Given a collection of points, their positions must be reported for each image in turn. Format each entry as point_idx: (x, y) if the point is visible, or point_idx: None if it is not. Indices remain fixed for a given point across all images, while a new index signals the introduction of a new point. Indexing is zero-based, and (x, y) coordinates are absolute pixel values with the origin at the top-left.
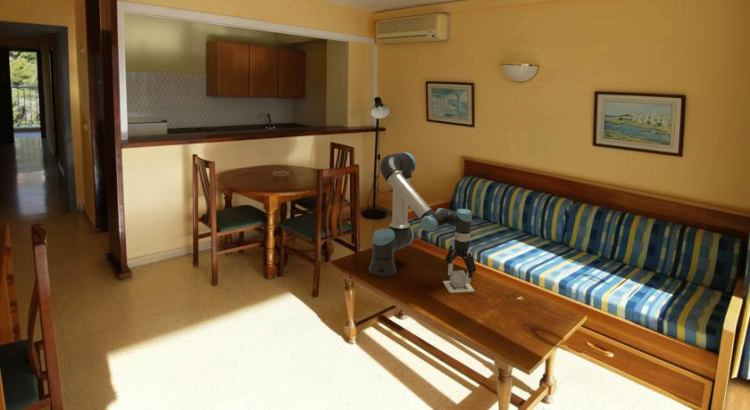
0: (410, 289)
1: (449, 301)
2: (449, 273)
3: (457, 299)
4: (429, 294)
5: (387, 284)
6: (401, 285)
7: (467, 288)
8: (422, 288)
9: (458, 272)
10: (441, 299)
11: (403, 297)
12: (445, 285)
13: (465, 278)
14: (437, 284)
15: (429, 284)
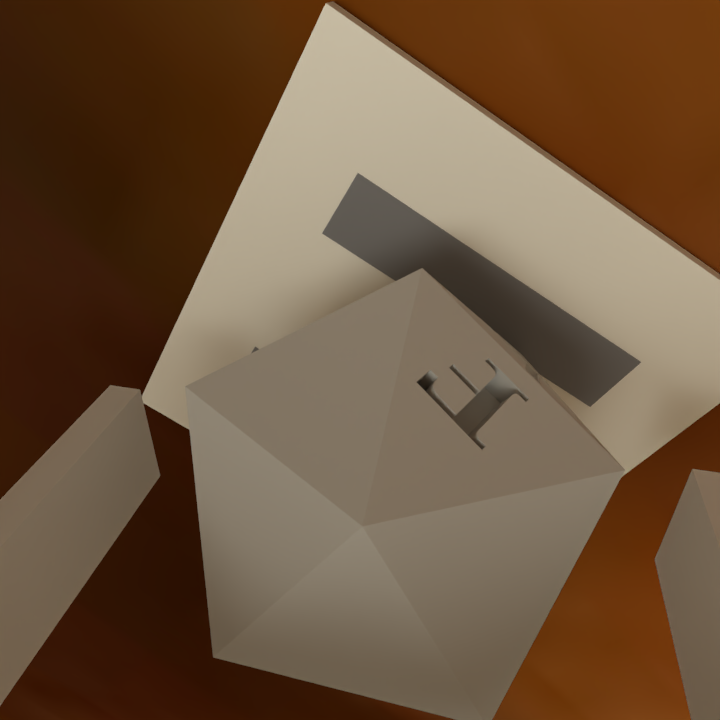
0: (160, 692)
1: (607, 716)
2: (134, 497)
3: (662, 652)
4: (340, 692)
5: (5, 703)
6: (57, 674)
7: (615, 355)
8: (192, 637)
9: (373, 682)
10: (506, 716)
11: None
12: None
13: (582, 545)
14: (181, 487)
15: (139, 539)
